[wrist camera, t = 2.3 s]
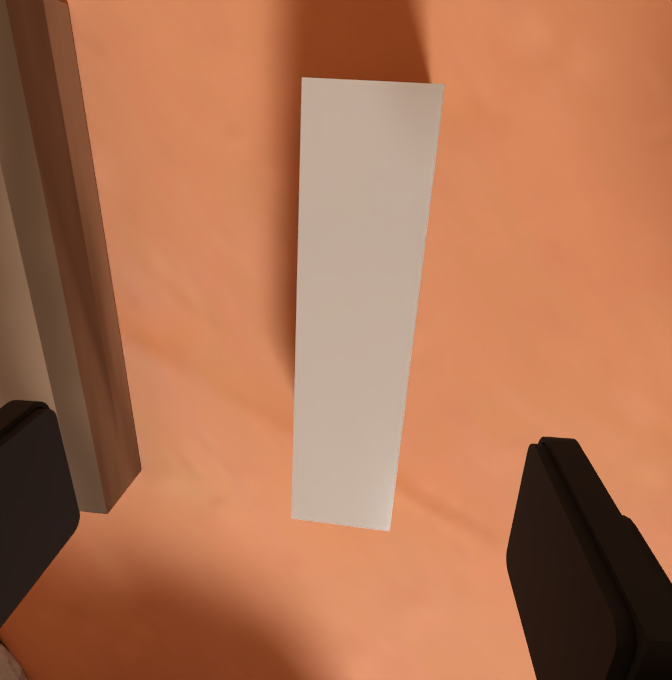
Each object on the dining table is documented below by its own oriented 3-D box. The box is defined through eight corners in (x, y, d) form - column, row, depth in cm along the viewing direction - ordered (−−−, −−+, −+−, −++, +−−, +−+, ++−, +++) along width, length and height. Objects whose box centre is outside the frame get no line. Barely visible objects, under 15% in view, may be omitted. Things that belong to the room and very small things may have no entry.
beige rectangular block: (432, 98, 19) (444, 84, 14) (392, 445, 25) (389, 531, 20) (329, 93, 20) (302, 77, 14) (314, 436, 26) (291, 518, 20)
